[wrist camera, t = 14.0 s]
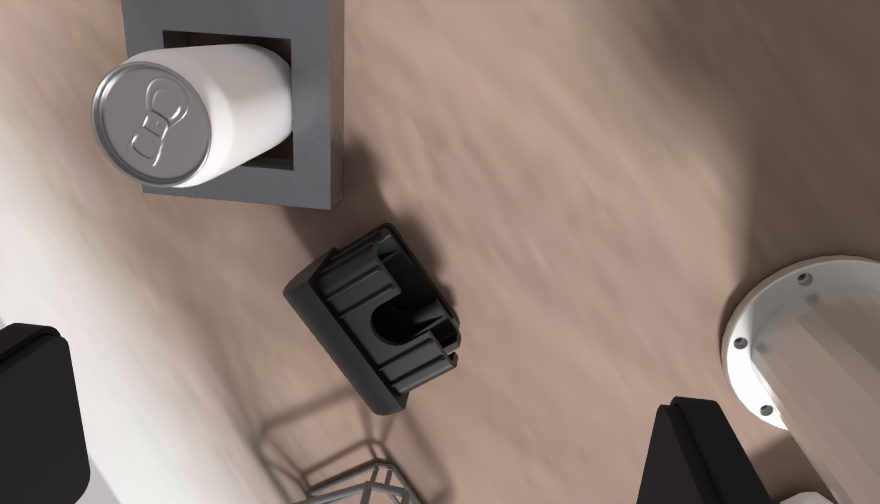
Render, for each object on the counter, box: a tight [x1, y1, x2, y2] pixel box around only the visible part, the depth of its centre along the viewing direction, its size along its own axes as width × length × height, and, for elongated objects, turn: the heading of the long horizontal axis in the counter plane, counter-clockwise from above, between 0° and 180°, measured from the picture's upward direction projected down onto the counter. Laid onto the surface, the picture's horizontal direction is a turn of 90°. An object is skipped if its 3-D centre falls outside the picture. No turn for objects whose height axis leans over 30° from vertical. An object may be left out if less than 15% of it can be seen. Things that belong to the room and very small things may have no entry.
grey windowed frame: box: [121, 0, 344, 210], centre depth 35 cm, size 12×22×3 cm, turn 177°
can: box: [91, 44, 293, 187], centre depth 33 cm, size 6×6×12 cm
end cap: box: [283, 223, 461, 415], centre depth 39 cm, size 10×7×7 cm
